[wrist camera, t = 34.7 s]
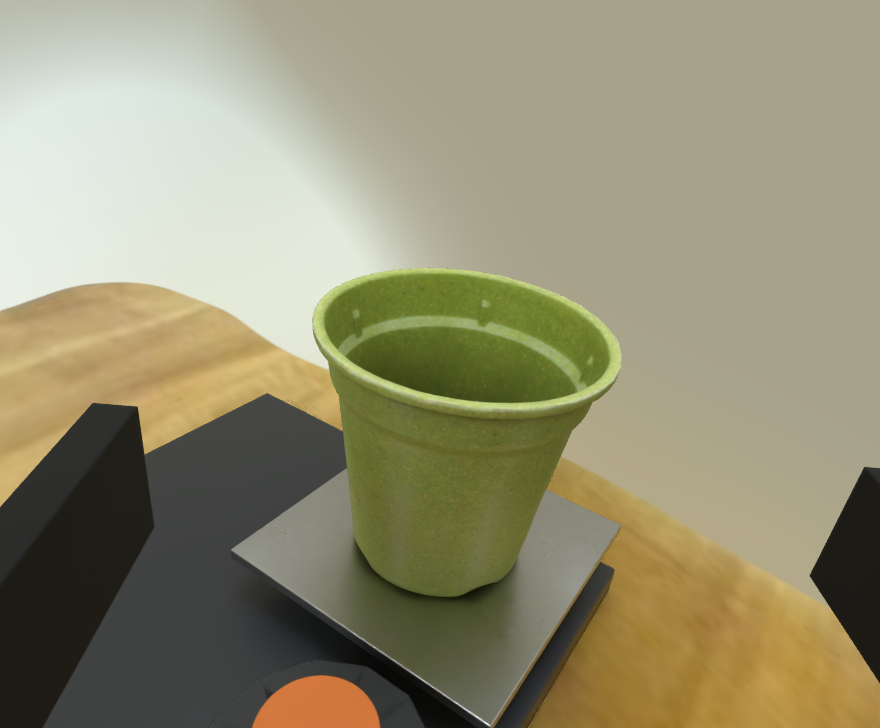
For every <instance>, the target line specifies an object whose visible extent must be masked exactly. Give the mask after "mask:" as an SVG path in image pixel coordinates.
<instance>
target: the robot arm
mask: <svg viewBox="0 0 880 728" xmlns="http://www.w3.org/2000/svg"><path fill="white" fill-rule="evenodd" d="M154 527H155V526H154V519H153V512H152V505H151V498H150V491H149V484H148V477H147V470H146V463H145V456H144V448H143V441H142V434H141V427H140V420H139V413H138V407H135V406H123V405H111V404H99V403H92V405H91V406H90V407H89V408H88V409H87V410H86V411H85V412H84V414H83V415H82V416H81V417H80V418H79V419H78V420H77V421H76V422H75V424H74V425H73V426H72V427H71V428H70V429H69V430H68V431H67V433H66V434H65V435H64V436H63V437H62V438H61V439H60V440H59V442H58V443H57V444H56V445H55V446H54V447H53V448H52V449H51V451H50V452H49V453H48V454H47V455H46V456H45V457H44V458H43V460H42V461H41V462H40V463H39V464H38V465H37V466H36V467H35V469H34V470H33V471H32V472H31V473H30V474H29V475H28V476H27V478H26V479H25V480H24V481H23V482H22V483H21V484H20V485H19V487H18V488H17V489H16V490H15V491H14V492H13V493H12V494H11V496H10V497H9V498H8V499H7V500H6V501H5V502H4V503H3V505H2V506H1V507H0V728H43V726H44V725H45V723H46V721H47V719H48V717H49V716H50V714H51V712H52V710H53V708H54V707H55V705H56V703H57V701H58V699H59V698H60V696H61V694H62V692H63V690H64V689H65V687H66V685H67V683H68V681H69V680H70V678H71V676H72V674H73V672H74V671H75V669H76V667H77V665H78V664H79V662H80V660H81V658H82V656H83V655H84V653H85V651H86V649H87V647H88V646H89V644H90V642H91V640H92V638H93V637H94V635H95V633H96V631H97V629H98V628H99V626H100V624H101V622H102V620H103V619H104V617H105V615H106V613H107V611H108V610H109V608H110V606H111V604H112V602H113V601H114V599H115V597H116V595H117V593H118V592H119V590H120V588H121V586H122V584H123V583H124V581H125V579H126V577H127V575H128V574H129V572H130V570H131V568H132V566H133V565H134V563H135V561H136V559H137V557H138V556H139V554H140V552H141V550H142V548H143V547H144V545H145V543H146V541H147V539H148V538H149V536H150V534H151V532H152V530H153V529H154ZM810 577H811V579H812V580H813V582H814V583H815V585H816V586H817V588H818V589H819V591H820V593H821V594H822V596H823V597H824V598H825V600H826V602H827V603H828V605H829V606H830V608H831V609H832V611H833V612H834V614H835V615H836V617H837V619H838V620H839V622H840V623H841V625H842V626H843V628H844V629H845V631H846V632H847V634H848V635H849V637H850V638H851V640H852V641H853V643H854V645H855V646H856V648H857V649H858V651H859V652H860V654H861V655H862V657H863V658H864V660H865V661H866V663H867V664H868V666H869V667H870V669H871V671H872V672H873V674H874V675H875V677H876V678H877V680H878V681H879V683H880V468H870V467H864V469H863V471H862V473H861V475H860V477H859V479H858V481H857V483H856V485H855V487H854V489H853V491H852V492H851V495H850V496H849V499H848V500H847V502H846V504H845V506H844V508H843V511H842V513H841V514H840V516H839V518H838V520H837V522H836V524H835V526H834V528H833V530H832V532H831V534H830V536H829V538H828V540H827V542H826V544H825V546H824V548H823V550H822V552H821V554H820V556H819V558H818V560H817V562H816V564H815V566H814V568H813V570H812V572H811V574H810Z"/></svg>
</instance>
